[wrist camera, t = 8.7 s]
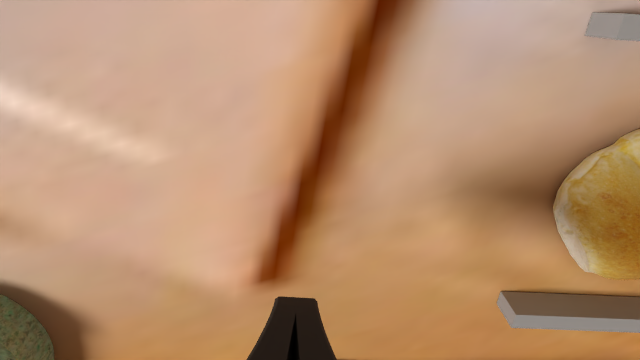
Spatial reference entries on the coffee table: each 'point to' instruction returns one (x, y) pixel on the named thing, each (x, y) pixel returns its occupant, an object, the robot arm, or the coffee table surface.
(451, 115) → the coffee table surface
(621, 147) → the bread roll
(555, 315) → the frame
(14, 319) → the decorative artifact
